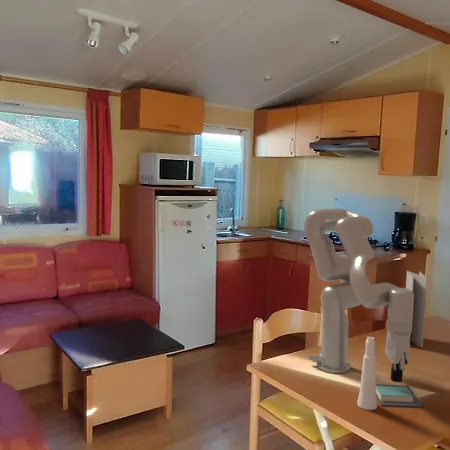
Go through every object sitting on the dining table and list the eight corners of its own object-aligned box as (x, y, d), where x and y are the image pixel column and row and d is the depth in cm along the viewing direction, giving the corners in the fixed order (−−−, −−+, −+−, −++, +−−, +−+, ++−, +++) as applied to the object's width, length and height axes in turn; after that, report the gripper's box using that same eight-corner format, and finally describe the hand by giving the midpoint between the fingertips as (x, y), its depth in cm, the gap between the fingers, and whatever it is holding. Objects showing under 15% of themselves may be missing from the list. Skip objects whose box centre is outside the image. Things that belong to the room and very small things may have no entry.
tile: (375, 391, 154) (380, 400, 147) (375, 385, 154) (381, 394, 147) (405, 392, 153) (412, 402, 147) (406, 386, 153) (413, 396, 147)
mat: (381, 405, 145) (381, 404, 145) (369, 385, 159) (369, 384, 159) (423, 407, 145) (423, 405, 145) (407, 387, 159) (408, 385, 159)
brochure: (422, 348, 195) (427, 278, 192) (408, 347, 196) (413, 277, 193) (415, 336, 209) (420, 271, 206) (402, 335, 210) (406, 270, 207)
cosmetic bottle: (381, 407, 145) (385, 339, 142) (368, 412, 141) (372, 342, 139) (365, 399, 150) (369, 333, 147) (353, 403, 146) (356, 336, 144)
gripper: (380, 319, 157) (378, 371, 159) (395, 334, 142) (392, 391, 144) (403, 319, 157) (400, 371, 159) (419, 334, 142) (416, 392, 144)
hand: (396, 380), depth 152 cm, fingers closed
